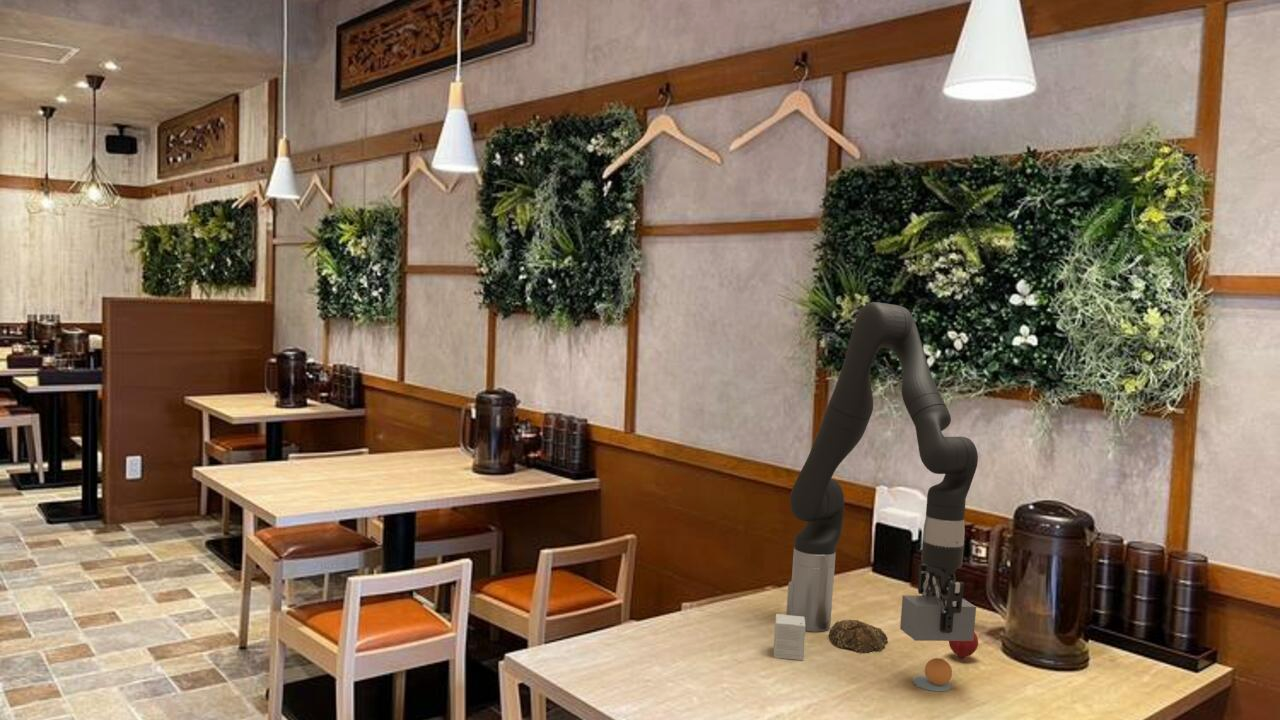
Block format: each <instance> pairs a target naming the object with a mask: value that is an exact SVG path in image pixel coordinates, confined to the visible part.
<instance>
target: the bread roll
mask: <svg viewBox="0 0 1280 720" xmlns="http://www.w3.org/2000/svg"><path fill="white" fill-rule="evenodd" d="M828 636H829V640H830V641H831V643H832V645H833V644H834V647H837V648H840V649H850V650H853V651H854V652H856V653H858V652H860V653H859V654H871V653H870V652H872V653H874V652H877V651H879V652H882V650H885V649H886V645H887V644H889V642H888V641H889V640H888V638H889V637H888V636H887V634H886V633H885V632H884V630H882V628H881V627H877V626H873V625H872V624H869V623H867V622H863V621H861V620H859V619H858V620H857V619H842V620H839V621H835V623H834V624H833V625H832V626H831V627H830V629H829V633H828Z"/></svg>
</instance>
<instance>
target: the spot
mask: <svg viewBox="0 0 1280 720" xmlns="http://www.w3.org/2000/svg"><path fill="white" fill-rule="evenodd" d="M913 682H914V683H913ZM912 683H913V684H914V685H915V684H916V685H917V686H916V685H915V686H916V687H918V688H920V687H921V688H920V689H923V690H927V691H930V692H939V693H941V692H942V693H943V692H947V691H950V690H951V687H952V686H951V684H950V683H949V682H948V683H946V684H944V685H935V684H933V683H931V682H930V681H929V680H928V679H927V677H926V675H920V676H919V675H918V676H915V677H913V679H912Z"/></svg>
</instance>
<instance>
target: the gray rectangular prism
mask: <svg viewBox="0 0 1280 720" xmlns="http://www.w3.org/2000/svg"><path fill="white" fill-rule="evenodd" d="M956 602H957V601H955V606H956ZM945 604H947V601H945ZM976 612H977V606H976V605H974V604H972V603H971V602H969V601H968V600H966V599H965V598H963V599H962V607H961V613H954V615H953V628H952V632H951V633H942V632H941V631H940V620H941V606H940V602H939V601H938V600H937V597H936V596H922V595H912V594H911V595H910V594H909V595H902V598H901V611H900V625H899V627H900V628H899V629H900V630H901V631H902V632H904V634H906V635H907V636H908V637H910V638H911V639H912V640H913V641H915V642H921V641H922V642H931V641H933V642H942V641H943V642H949V641H973V640H974V632H975V627H976V625H975V624H976V614H977V613H976Z"/></svg>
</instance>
